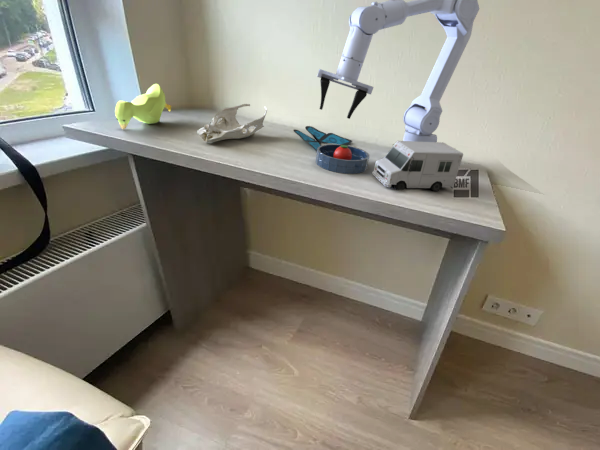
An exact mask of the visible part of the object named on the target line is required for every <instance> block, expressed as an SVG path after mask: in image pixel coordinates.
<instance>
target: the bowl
mask: <svg viewBox="0 0 600 450" xmlns="http://www.w3.org/2000/svg"><path fill="white" fill-rule="evenodd" d="M321 145H322V146H319V147H318V148H317V151H316V153H315V163H316V165H317V166H318V167H320V168H322V169H324V170H327V171H329V172H334V173H338V174H347V175H349V174H350V175H354V174H362V173H364V172H366V171H367V170H368V166H369V161H370V154H369V153H368V152H367V151H366V150H363V149H362V148H359V147H356V146H351V145H347V146H348V148H349V149H350V150H351V153H352V158H351V160H343V159H337V158H334V152H335V150H336V149H337V148H338V147H340V146H341V145H340V144H321Z"/></svg>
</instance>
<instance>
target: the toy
mask: <svg viewBox="0 0 600 450" xmlns="http://www.w3.org/2000/svg"><path fill="white" fill-rule="evenodd" d="M164 109H167V112H171V110H172V105H170V104H168V103H167V102H166V94H165V92H164V90H163V88H162V87H161V85H160V84H158V83H153V84H152V85H151V86H150V87H149V88H148V89H147V90H146V93H143V94H139V95H137V96H136V97H135V98H134V99H132V100H131V101H126V100H121V99H120V100H118V101H117V102H116V104H115V108H114V115H115V118H116V119H115V120H116V121H118V124H119V127H120V129H121V130H126V129H127V128H128V125H129V123H130V122H131V119H132V118H134V119H135V120H136V121H138V122H140V123H144V124H149V125H150V124H151V125H152V124H157V123H159V122H160V119H161V117H162V114H163V111H164Z"/></svg>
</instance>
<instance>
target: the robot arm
mask: <svg viewBox="0 0 600 450" xmlns="http://www.w3.org/2000/svg"><path fill="white" fill-rule="evenodd" d="M479 11H480V4H479V1H478V0H408V1H405V0H385V1H381V2H378V1H372V2H371V3H370V6H369V5H368V6H366V5H365V6H358V7H356V8H355V10H353V11H352V13H351V15H349V19H348V24H349V32H348V35H347V37H346V41H345V44H344V48H343V51H342V53H341V57H340V60H339V63H338V66H337V69H336V73H333V72H330V71H327V70H324V69H321V68H319V69H318V72H317V74H316V77H317V78H319V79H320V104H319V105H320V106H319V110H323V108H324V103H325V99H326V96H327V94H328V90H329V86H330V84H331V82H332V83H335V84H338V85H341V86H344V87H347V88H350V89H353V90H356V91H355V94H354V97H353V100H352V102H351V106H350V108H349V111H348V113H347V116H346V118H347V119H349V120H350V119H351V117H352V116H353V113H354V112H355V111H356V109H357V108H358V106H359V105H360V104H361V103H362V101H363V100H364V99H366V97H367V95H372V93H373V90H374V86H371V85H369V84H367V83H364V82H361V81H358V79H359V78H360V74H361V71H362V68H363V66H364V62H365V59H366V57H367V54H368V50H369V48H370V45H371V42H372V39H373V37H374V35H376V34H377V33H378V32H379V31H381V30H385V29H388V28H392V27H395V26H396V27H397V26H399V25H403V24H404V23H405V21H406V19H407V18H408V17H413V16H417V15H421V14H426V13H430V14H431V15H434V17H435V19H436V21H438V23H439V24H440V26H441V27H442V28H443V30H444V32H445V35H446V39H445V41H444V44H443V45H442V48H441V50H440V52H439V54H438V56H437V58H436V61H435V63H434V65H433V68H432V70H431V72H430V74H429V77H428V79H427V81H426V82H425V85H424V88H423V89H422V92H421V93H420V95H419V96H417V97H416V98H414V99H413V100H412V101H411V103H410V105H409V107H407V109H406V110H405V111H404V113H403V116H402V117H403V118H402V120H403V123H404V125H405V126H404V129H405V131H404V134H403V138H402V141H416V142H438V135H437V134H433V133H434V132H436V130H437V129H438V127H439V126H440V121H441V120H440V119H441V115H442V113H443V107H442V105H441V100H442V97H443V95H444V94H445V92H446V89H447V87H448V85H449V83H450V81H451V78H452V77H453V74H454V72H455V70H456V69H457V66H458V64H459V62H460V60H461V57H462V56H463V53H464V52H465V49H466V48H467V45H468V43H469V41H470V38H471V36H472V32H473V27H474V22H475V19H476V17H477V15H478V13H479ZM344 82H346V83H344ZM347 83H349V84H347ZM350 84H351V85H350Z"/></svg>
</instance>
